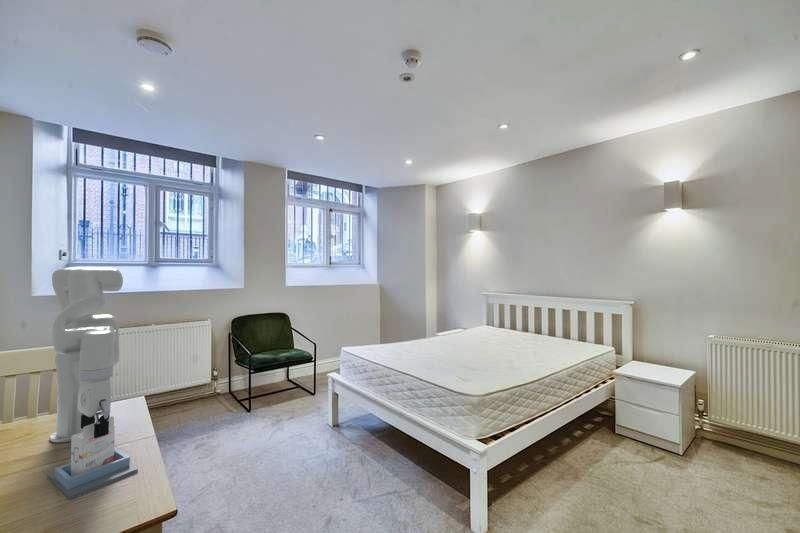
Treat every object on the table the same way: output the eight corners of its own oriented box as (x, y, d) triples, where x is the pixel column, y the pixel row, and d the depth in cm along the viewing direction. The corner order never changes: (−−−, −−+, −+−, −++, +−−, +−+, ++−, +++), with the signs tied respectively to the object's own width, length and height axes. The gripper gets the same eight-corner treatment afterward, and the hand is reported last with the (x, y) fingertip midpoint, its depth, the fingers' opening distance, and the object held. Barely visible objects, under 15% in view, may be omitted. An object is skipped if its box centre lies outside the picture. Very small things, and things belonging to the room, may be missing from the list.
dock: (47, 477, 99) (47, 465, 99) (111, 454, 112) (112, 443, 112) (70, 499, 90) (70, 486, 90) (137, 471, 103) (137, 460, 103)
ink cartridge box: (102, 461, 106) (104, 413, 106) (114, 464, 105) (116, 415, 105) (69, 477, 98) (70, 425, 98) (81, 480, 96) (83, 427, 97)
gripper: (68, 370, 103) (66, 428, 103) (91, 382, 94) (89, 445, 94) (100, 364, 109) (98, 419, 109) (125, 375, 100) (122, 434, 100)
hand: (94, 431), depth 102 cm, fingers open, 9 cm apart
